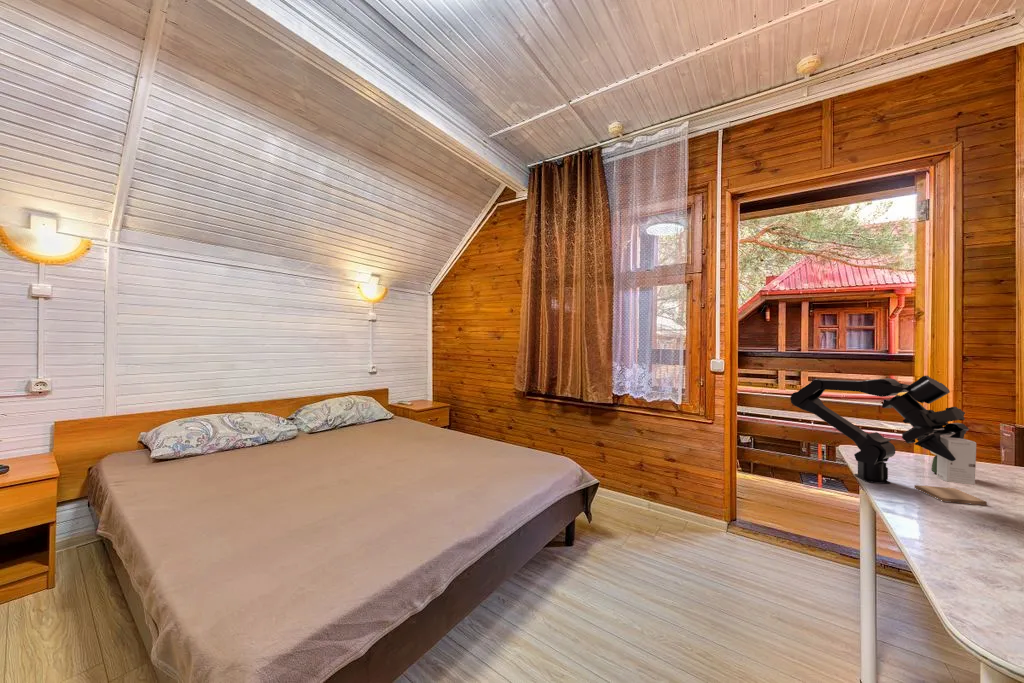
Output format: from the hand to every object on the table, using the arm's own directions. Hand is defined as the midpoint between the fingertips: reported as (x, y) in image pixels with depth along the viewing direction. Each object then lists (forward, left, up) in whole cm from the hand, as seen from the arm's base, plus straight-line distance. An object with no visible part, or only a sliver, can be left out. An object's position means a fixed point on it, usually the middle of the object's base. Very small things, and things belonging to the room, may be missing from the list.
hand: (963, 459), depth 104 cm
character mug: (+17, +30, -13) cm, 37 cm away
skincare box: (-1, +1, -7) cm, 7 cm away
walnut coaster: (+2, +7, -13) cm, 15 cm away
